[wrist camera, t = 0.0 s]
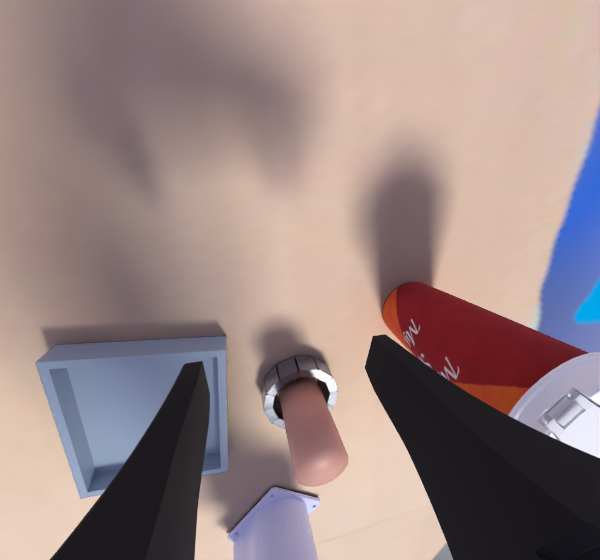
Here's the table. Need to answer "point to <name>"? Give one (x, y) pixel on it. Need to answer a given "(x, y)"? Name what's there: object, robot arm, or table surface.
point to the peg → (311, 433)
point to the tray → (126, 400)
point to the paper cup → (502, 362)
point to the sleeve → (290, 372)
